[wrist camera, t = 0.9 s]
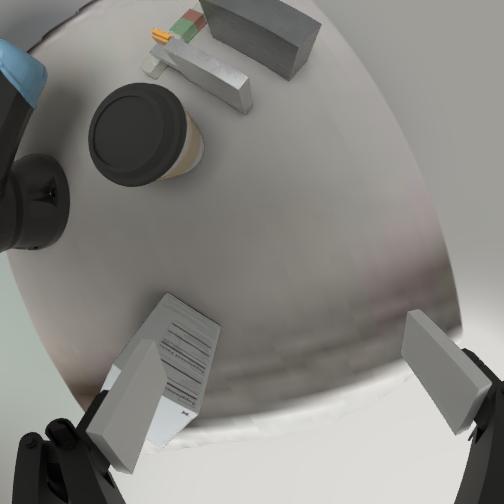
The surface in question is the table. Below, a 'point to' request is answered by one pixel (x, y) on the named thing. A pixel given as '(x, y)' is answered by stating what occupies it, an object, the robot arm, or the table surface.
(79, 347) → the table surface
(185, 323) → the supplement box
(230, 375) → the table surface
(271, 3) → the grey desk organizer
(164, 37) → the orange stepped block
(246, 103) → the light grey slab
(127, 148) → the coffee cup
